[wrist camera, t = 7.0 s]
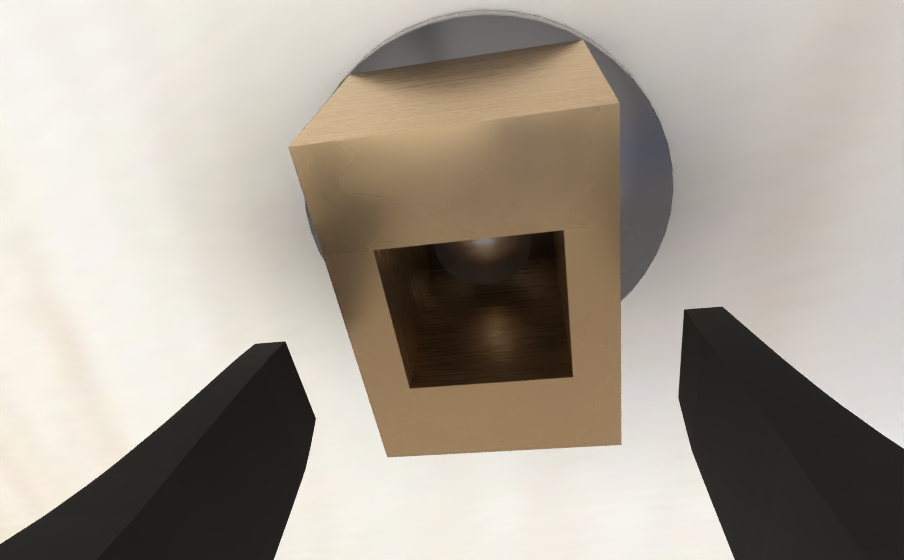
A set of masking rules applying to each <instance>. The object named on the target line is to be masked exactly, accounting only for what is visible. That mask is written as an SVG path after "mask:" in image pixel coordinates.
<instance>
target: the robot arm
mask: <svg viewBox="0 0 904 560" xmlns="http://www.w3.org/2000/svg"><path fill="white" fill-rule="evenodd" d="M678 398H679V402H680V406H681V410H682V414H683V418H684V422H685V426H686V430H687V434H688V437H689V441H690V445H691V449H692V452H693V455H694V457H695V460H696V462H697V465H698V468H699V470H700V473H701V475H702V478H703V480H704V483H705V486H706V488H707V491H708V493H709V496H710V498H711V501H712V503H713V506H714V508H715V511H716V513H717V516H718V518H719V521H720V523H721V526H722V528H723V531H724V534H725V536H726V539H727V541H728V544H729V546H730V549H731V551H732V554H733V556H734V559H735V560H904V449H903V448H902V447H900V446H899V445H897V444H896V443H894V442H893V441H891V440H890V439H888V438H887V437H885V436H884V435H882V434H881V433H879V432H878V431H877V430H875V429H874V428H872V427H871V426H870V425H868V424H867V423H865V422H864V421H863V420H861V419H860V418H858V417H857V416H856V415H854V414H853V413H851V412H850V411H849V410H847V409H846V408H844V407H843V406H842V405H840V404H839V403H838V402H836V401H835V400H834V399H832V398H831V397H830V396H828V395H827V394H826V393H825V392H823V391H822V390H821V389H820V388H818V387H817V386H816V385H815V384H813V383H812V382H811V381H809V380H808V379H807V378H806V377H804V376H803V375H802V374H801V373H799V372H798V371H797V370H796V369H794V368H793V367H792V366H791V365H790V364H788V363H787V362H786V361H785V360H784V359H782V358H781V357H780V356H779V355H778V354H777V353H775V352H774V351H773V350H772V349H771V348H770V347H768V346H767V345H766V344H765V343H764V342H762V341H761V340H760V339H759V338H758V337H757V336H756V335H754V334H753V333H752V332H751V331H750V330H749V329H747V328H746V327H745V326H744V325H743V324H742V323H741V322H739V321H738V320H737V319H736V318H735V317H734V316H732V315H731V314H730V313H729V312H728V311H727V310H725V309H724V308H723V307H712V308H700V309H687V310H684V321H683V336H682V351H681V366H680V381H679V396H678ZM315 421H316V418H315V415H314V413H313V410H312V408H311V405H310V403H309V400H308V398H307V395H306V393H305V390H304V387H303V385H302V382H301V380H300V377H299V375H298V372H297V370H296V367H295V365H294V362H293V360H292V357H291V355H290V352H289V350H288V347H287V344H286V342H273V343H260V344H255V345H253V346H252V347H251V348H249V349H248V350H247V351H246V352H244V353H243V354H242V355H241V356H240V357H238V358H237V359H236V360H235V361H234V362H233V363H232V364H230V365H229V366H228V367H227V368H226V369H225V370H224V371H223V372H221V373H220V374H219V375H218V376H217V377H216V378H215V379H214V380H212V381H211V382H210V383H209V384H208V385H207V386H206V387H205V388H204V389H202V390H201V391H200V392H199V393H198V394H197V395H196V396H195V397H193V398H192V399H191V400H190V401H189V402H188V403H187V404H186V405H184V406H183V407H182V408H181V409H180V410H179V411H178V412H177V413H175V414H174V415H173V416H172V417H171V418H170V419H169V420H168V421H166V422H165V423H164V424H163V425H162V426H160V427H159V428H158V429H157V430H156V431H154V432H153V433H152V434H151V435H150V436H148V437H147V438H146V439H145V440H144V441H142V442H141V443H140V444H139V445H137V446H136V447H135V448H134V449H133V450H131V451H130V452H129V453H128V454H127V455H125V456H124V457H123V458H122V459H121V460H119V461H118V462H117V463H116V464H114V465H113V466H112V467H111V468H109V469H108V470H107V471H105V472H104V473H103V474H102V475H100V476H99V477H98V478H96V479H95V480H94V481H92V482H91V483H90V484H88V485H87V486H86V487H84V488H83V489H81V490H80V491H79V492H77V493H76V494H74V495H73V496H72V497H70V498H69V499H67V500H66V501H65V502H63V503H62V504H60V505H59V506H58V507H56V508H55V509H53V510H52V511H50V512H49V513H48V514H46V515H45V516H43V517H42V518H40V519H39V520H37V521H36V522H34V523H32V524H31V525H29V526H28V527H26V528H25V529H23V530H22V531H20V532H18V533H17V534H15V535H14V536H12V537H11V538H9V539H8V540H6V541H4V542H3V543H1V544H0V560H274V557H275V554H276V552H277V549H278V546H279V543H280V540H281V538H282V535H283V532H284V529H285V526H286V524H287V521H288V518H289V515H290V512H291V510H292V507H293V504H294V501H295V498H296V495H297V492H298V489H299V487H300V484H301V481H302V478H303V475H304V472H305V469H306V465H307V460H308V456H309V451H310V447H311V442H312V436H313V431H314V426H315Z"/></svg>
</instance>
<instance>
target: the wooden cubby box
mask: <svg viewBox="0 0 904 560" xmlns="http://www.w3.org/2000/svg"><path fill="white" fill-rule="evenodd" d="M289 150H290V153H291V156H292V159H293V162H294V166H295V169H296V172H297V175H298V178H299V181H300V184H301V188H302V191H303V194H304V197H305V200H306V203H307V206H308V210H309V213H310V216H311V219H312V222H313V225H314V228H315V231H316V235H317V238H318V241H319V244H320V247H321V250H322V253H323V257H324V260H325V263H326V266H327V269H328V272H329V275H330V279H331V282H332V285H333V288H334V291H335V294H336V297H337V301H338V304H339V307H340V310H341V313H342V316H343V319H344V323H345V326H346V329H347V332H348V335H349V338H350V341H351V344H352V348H353V351H354V354H355V357H356V360H357V363H358V366H359V370H360V373H361V376H362V379H363V382H364V385H365V388H366V392H367V395H368V398H369V401H370V404H371V407H372V410H373V414H374V417H375V420H376V423H377V426H378V429H379V432H380V436H381V439H382V442H383V445H384V448H385V451H386V454H387V457H401V456H420V455H439V454H457V453H476V452H495V451H513V450H532V449H551V448H570V447H588V446H607V445H621V288H620V102H619V101H618V99H617V97H616V96H615V94H614V92H613V90H612V89H611V87H610V85H609V84H608V82H607V80H606V78H605V77H604V75H603V73H602V72H601V70H600V68H599V66H598V65H597V63H596V61H595V60H594V58H593V56H592V54H591V53H590V51H589V49H588V48H587V46H586V44H585V42H584V41H583V39H582V40H575V41H568V42H562V43H555V44H548V45H542V46H535V47H528V48H522V49H515V50H508V51H502V52H495V53H488V54H482V55H475V56H468V57H462V58H455V59H448V60H442V61H435V62H428V63H422V64H415V65H408V66H402V67H395V68H388V69H382V70H375V71H368V72H362V73H355V74H350V75H349V76H348V77H347V78H346V79H345V81H344V82H343V83H342V84H341V85H340V87H339V88H338V89H337V90H336V91H335V93H334V94H333V95H332V96H331V97H330V98H329V100H328V101H327V102H326V103H325V104H324V106H323V107H322V108H321V109H320V110H319V112H318V113H317V114H316V115H315V116H314V117H313V119H312V120H311V121H310V122H309V123H308V125H307V126H306V127H305V128H304V129H303V130H302V132H301V133H300V134H299V135H298V136H297V138H296V139H295V140H294V141H293V142H292V144H291V145H290V146H289ZM551 231H553V240H554V253H555V258H547V259H537V260H527V261H526V263H525V264H524V266H523V267H522V268H521V269H520V270H519V271H518V272H517V273H516V274H515V275H513V276H512V277H510V278H509V279H507V280H505V281H502V282H499V283H495V284H489V285H477V284H471V283H468V282H465V281H462V280H460V279H458V278H456V277H454V276H453V275H452V274H450V273H449V272H448V271H447V270H446V269H436V270H431V266H430V261H429V256H428V251H427V246H426V245H427V244H437V243H446V242H456V241H465V240H475V239H484V238H494V237H503V236H513V235H522V234H532V233H541V232H551Z"/></svg>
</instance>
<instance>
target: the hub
mask: <svg viewBox="0 0 904 560" xmlns="http://www.w3.org/2000/svg"><path fill="white" fill-rule="evenodd" d="M582 39H583V41H584V42H585V44H586V46H587V48H588V49H589V51H590V53H591V54H592V56H593V58H594V60H595V61H596V63H597V65H598V66H599V68H600V70H601V72H602V73H603V75H604V77H605V78H606V80H607V82H608V84H609V85H610V87H611V89H612V90H613V92H614V94H615V96H616V97H617V99H618V101H619V102H620V288H621V300H622V299H623V298H624V297H625V296H626V295H627V294H628V293H629V292H630V291H631V290H632V289H633V288H634V287H635V285H636V284H637V283H638V282H639V280H640V279H641V278H642V277H643V275H644V274H645V272H646V271H647V269H648V267H649V266H650V264H651V262H652V261H653V259H654V257H655V256H656V254H657V251H658V249H659V247H660V244H661V242H662V239H663V237H664V235H665V231H666V227H667V224H668V220H669V216H670V211H671V203H672V195H673V177H672V164H671V159H670V153H669V147H668V143H667V141H666V138H665V135H664V132H663V129H662V126H661V123H660V121H659V119H658V117H657V115H656V113H655V111H654V109H653V108H652V106H651V104H650V102H649V100H648V99H647V97H646V96H645V95H644V93H643V92H642V91H641V89H640V88H639V86H638V85H637V84H636V82H635V81H634V80H633V78H632V77H631V76H630V74H629V73H628V72H627V71H626V70H625V69H624V68H623V67H622V66H621V65H620V64H619V63H618V62H617V61H616V60H615V59H614V58H613V57H612V56H611V55H610V54H609V53H608V52H607V51H605V50H604V49H603V48H601V47H600V46H599V45H597V44H596V43H594V42H593V41H592V40H590V39H589V38H587V37H585V36H584V35H582V34H580V33H578V32H576V31H574V30H572V29H570V28H568V27H567V26H564V25H562V24H559V23H556V22H553V21H550V20H548V19H545V18H542V17H539V16H534V15H529V14H524V13H519V12H514V11H497V10H479V11H468V12H458V13H454V14H449V15H445V16H441V17H437V18H432V19H430V20H427V21H425V22H422V23H420V24H417V25H414V26H412V27H409V28H407V29H405V30H404V31H402V32H400V33H398V34H396V35H395V36H393V37H391V38H389V39H388V40H386V41H384V42H383V43H382V44H381V45H379V46H378V47H377V48H375V49H374V50H373V51H372V52H370V53H369V54H368V55H366V56H365V57H364V58H363V59H362V60H361V61H360V62H359V63H358V64H357V65H356V67H355V68H354V69H353V70H352V71H351V72H350V73H349V74H348V75H347V76H346V77H345V78H344V80H343V81H342V82H341V83H340V85H341V84H342V83H343V82H344V81H345V79H346V78H347V77H348V76H349V75H350V74H355V73H362V72H368V71H375V70H382V69H388V68H395V67H402V66H408V65H415V64H422V63H428V62H435V61H442V60H448V59H455V58H462V57H468V56H475V55H482V54H488V53H495V52H502V51H508V50H515V49H522V48H528V47H535V46H542V45H548V44H555V43H562V42H568V41H575V40H582ZM340 85H339V86H338V88H339V87H340ZM338 88H337V89H338ZM337 89H336V90H337ZM336 90H335V91H336ZM334 93H335V92H334ZM334 93H333V94H334ZM305 205H306V212H307V216H308V220H309V224H310V228H311V232H312V235H313V237H314V240H315V242H316V245H317V247H318V250H319V252H320V254H321V256H322V257H323V253H322V250H321V247H320V244H319V241H318V238H317V235H316V231H315V228H314V225H313V222H312V219H311V216H310V213H309V210H308V206H307V203H306V200H305ZM426 246H427V251H428V256H429V261H430V266H431V270H436V269H446V270H447V271H448V272H449V273H450V274H452V275H453V276H454V277H456V278H458V279H460V280H462V281H465V282H468V283H471V284H477V285H489V284H495V283H499V282H502V281H505V280H507V279H509V278H510V277H512V276H513V275H515V274H516V273H517V272H518V271H519V270H520V269H521V268H522V267H523V266H524V264H525V263H526V261H527V260H537V259H547V258H555V253H554V240H553V231H551V232H541V233H532V234H522V235H513V236H503V237H494V238H484V239H475V240H465V241H456V242H446V243H437V244H427V245H426ZM323 259H324V257H323ZM324 261H325V260H324Z"/></svg>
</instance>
